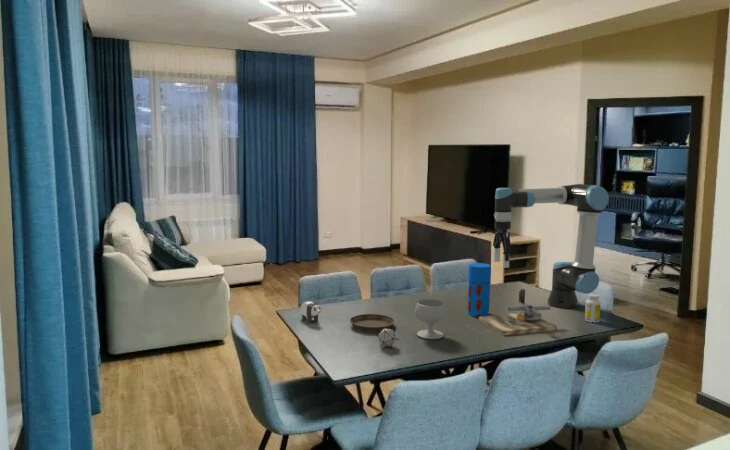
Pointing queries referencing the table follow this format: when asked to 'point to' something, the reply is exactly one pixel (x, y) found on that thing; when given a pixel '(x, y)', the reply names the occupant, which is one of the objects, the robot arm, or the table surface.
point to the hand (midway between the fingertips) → (501, 264)
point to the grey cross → (528, 308)
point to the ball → (520, 317)
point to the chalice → (430, 316)
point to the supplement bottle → (592, 308)
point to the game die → (387, 337)
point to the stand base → (515, 324)
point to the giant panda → (310, 311)
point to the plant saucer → (371, 322)
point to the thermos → (478, 289)
